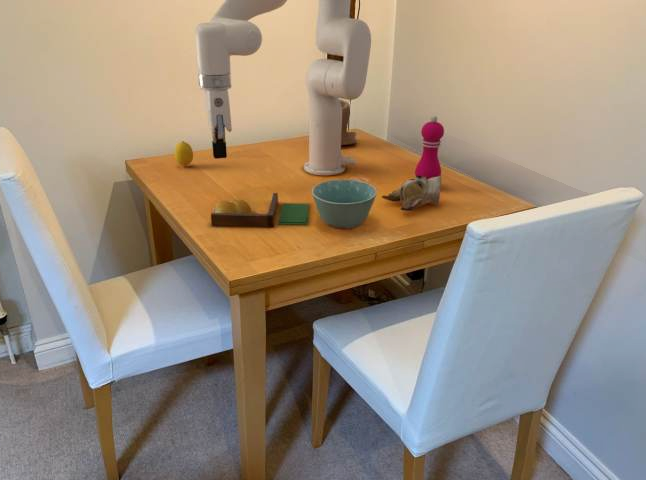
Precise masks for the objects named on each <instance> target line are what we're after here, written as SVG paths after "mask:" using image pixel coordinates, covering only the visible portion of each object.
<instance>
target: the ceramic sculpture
mask: <svg viewBox="0 0 646 480" xmlns="http://www.w3.org/2000/svg"><path fill="white" fill-rule="evenodd" d="M441 188H442V175H441V176H438V177H434V178H430V179H428V180H427V179H426V178H425V177H423V176H421V175H417V176H415V178H410V179H407V180H405V181H404V182H403V183H402V184H401V186H400V187H399V188H398V189H395V190H392V192H391V193H388V194H387V195H384V194H383V195H382V196H381V198H382V199H384V200H387V201H390V202H394V203H395V202H401V203H402V206H401V208H400V210H401V211H404V212H412V211H416V209H417V208H419V207H421V206H423V205H427V204H429V205H437V204H438V202H439V201H440V199H441V198H440V196H441V191H442V189H441Z"/></svg>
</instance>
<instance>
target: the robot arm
mask: <svg viewBox="0 0 646 480" xmlns="http://www.w3.org/2000/svg"><path fill="white" fill-rule="evenodd" d="M351 1H352V0H318V9H317V18H316V19H317V20H316V31H315V45H316V48H317V49H318V50H319V51H320V52H321V53H324V54H327V55H333V56H340V57H343V60H342V61H341V60H336V59H330V58H319V59H316V60H313V62H311V63H310V64H309V66H308V68H307V69H306V73H305V74H306V75H305V81H306V87H307V93H308V102H309V103H308V104H309V117H308V118H309V120H308V121H309V128H308V129H309V132H308V138H309V139H308V161H306V162H305V163H304V164H303V170H304V171H305V172H306V173H308V174H311V175H315V176H324V177H327V176H336V175H339V174H342V173H344V172H345V171H346V165H347V166H356V160H357V159H356V158H352V156H344V155H342V154H343V153H342V145H341V130H342V107H341V103H340V100H346V101H347V100H348V101H353V100H357V99H359V98H360V96H361V95H362V94H363V93H364V89H365V86H366V82H367V75H368V71H369V70H368V69H369V61H370V54H371V48H372V33H371V29H370V27H369V26H368V25H369V24H368V23H366V22H365V21H364V20H362V19H360V18H351V17H350V15H351V14H350V13H351V12H350V11H351ZM287 2H288V0H225V1H224V2H222V4H221V5H220V6H219V8H218V9H217V10H216V12H215V13H214V14H213V15H212V17H211V19H210V21H209V22H202V23H201V22H200V23H198V24H197V25H196V26H195V29H194V38H195V39H194V40H195V51H196V53H195V54H196V64H197V74H198V75H197V78H198V88H199V89H200V90H203V91H204V102H205V111H206V120H207V125H208V127H209V129H210V131H211V135H212V142H211V144H212V145H211V146H212V156H213V159H215V160H217V159H227V157H228V153H227V152H228V151H227V141H226V131H227V132H228V133H231V132H232V131H233V129H232V118H231V108H230V106H231V105H230V96H229V90H230V89H232V76H231V75H232V74H231V71H232V70H231V56H241V57H242V56H243V57H247V56H248V57H249V56H251V55H253V54H255V53H256V52H258V50H259V49H260V48H261V46H262V42H263V35H262V32H261V29H260V28H259V27H258V25H256V24H255V23H253V22H251V21H250V20H251V19H253V18H255V17H257V16H260V15H263V14H267V13H270V12H273V11H275V10H278V9H280V8H281V7H283V6H284V5H285V4H286V3H287ZM339 99H340V100H339Z"/></svg>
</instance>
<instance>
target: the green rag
mask: <svg viewBox="0 0 646 480" xmlns="http://www.w3.org/2000/svg"><path fill="white" fill-rule="evenodd" d="M309 206H310V204H309V203H289V202H288V203H287V202H286V203H285V202H283V203H281V209H280V213H279V218H278V224H277V225H279V226H282V225H283V226H307V225H308V219H309V218H308V217H309Z"/></svg>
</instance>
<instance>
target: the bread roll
mask: <svg viewBox="0 0 646 480" xmlns="http://www.w3.org/2000/svg"><path fill="white" fill-rule="evenodd" d="M214 213H240V214H252V208H251V205H250V204H249V203H248V202H247V201H246V200H243V199H233V200H230V201H227V200H226V201H225V200H224V201H219V202H218V203H217V204H216V205H215V210H214Z"/></svg>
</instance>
